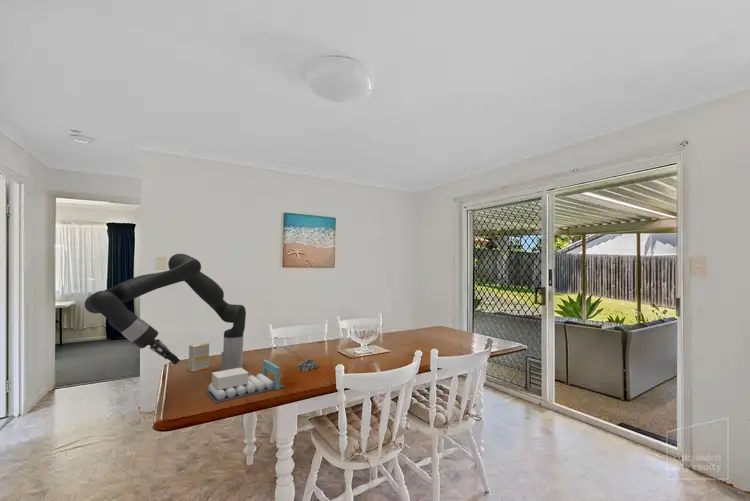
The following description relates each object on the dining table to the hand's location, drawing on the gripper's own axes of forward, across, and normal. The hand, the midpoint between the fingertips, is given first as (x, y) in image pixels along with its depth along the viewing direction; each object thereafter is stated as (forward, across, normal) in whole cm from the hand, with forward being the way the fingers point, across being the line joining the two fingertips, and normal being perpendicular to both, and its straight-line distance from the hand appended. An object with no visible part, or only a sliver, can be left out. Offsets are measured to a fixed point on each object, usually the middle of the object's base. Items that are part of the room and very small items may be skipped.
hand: (176, 360), depth 132 cm
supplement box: (+24, +42, 0) cm, 48 cm away
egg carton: (+57, +12, -32) cm, 67 cm away
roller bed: (+31, 0, -7) cm, 32 cm away
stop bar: (+39, 0, -15) cm, 42 cm away
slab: (+23, 0, -5) cm, 24 cm away
